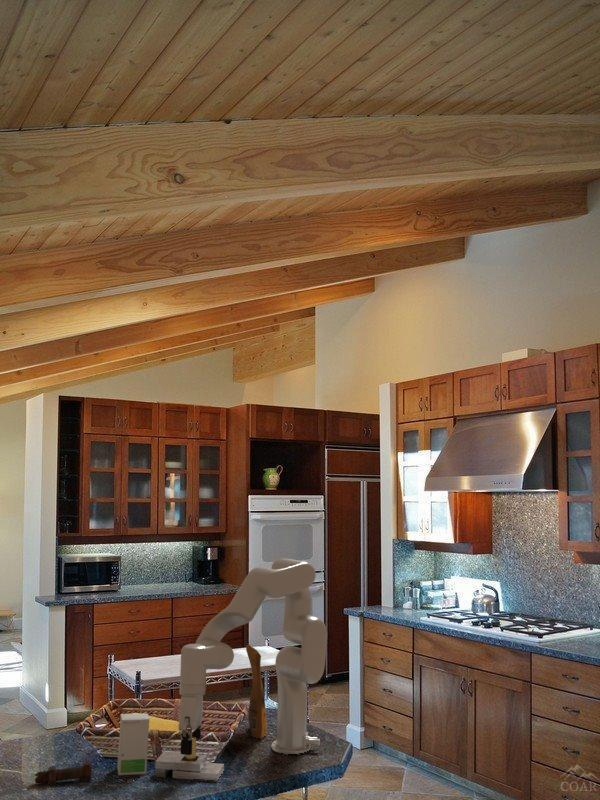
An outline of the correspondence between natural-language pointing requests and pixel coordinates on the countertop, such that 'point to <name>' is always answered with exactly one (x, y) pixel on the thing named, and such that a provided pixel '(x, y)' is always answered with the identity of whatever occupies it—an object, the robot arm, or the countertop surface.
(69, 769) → the bolt
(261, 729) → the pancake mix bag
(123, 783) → the countertop surface
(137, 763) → the skincare box
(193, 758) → the pin
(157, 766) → the grey electronic gadget
